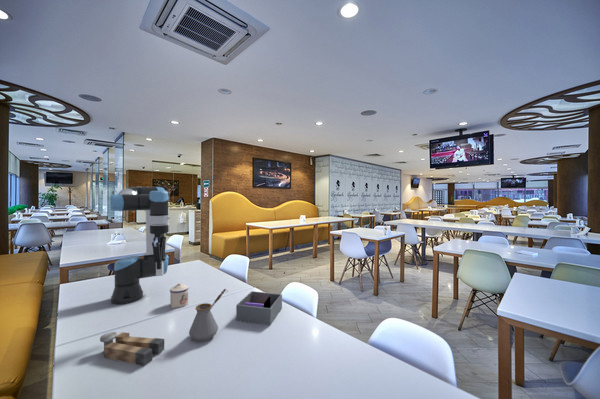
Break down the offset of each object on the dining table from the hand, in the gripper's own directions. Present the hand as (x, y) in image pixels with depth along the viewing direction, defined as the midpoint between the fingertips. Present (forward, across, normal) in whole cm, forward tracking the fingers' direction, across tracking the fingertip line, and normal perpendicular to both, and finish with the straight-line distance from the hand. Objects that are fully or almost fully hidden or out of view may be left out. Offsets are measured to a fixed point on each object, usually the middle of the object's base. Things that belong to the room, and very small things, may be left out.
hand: (159, 275), depth 115 cm
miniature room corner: (+23, 0, -45) cm, 51 cm away
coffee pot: (+22, -12, -24) cm, 35 cm away
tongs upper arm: (+22, -21, +4) cm, 31 cm away
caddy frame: (+22, -2, -46) cm, 51 cm away
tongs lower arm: (+22, -24, +5) cm, 33 cm away
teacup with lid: (+23, +20, -5) cm, 31 cm away
